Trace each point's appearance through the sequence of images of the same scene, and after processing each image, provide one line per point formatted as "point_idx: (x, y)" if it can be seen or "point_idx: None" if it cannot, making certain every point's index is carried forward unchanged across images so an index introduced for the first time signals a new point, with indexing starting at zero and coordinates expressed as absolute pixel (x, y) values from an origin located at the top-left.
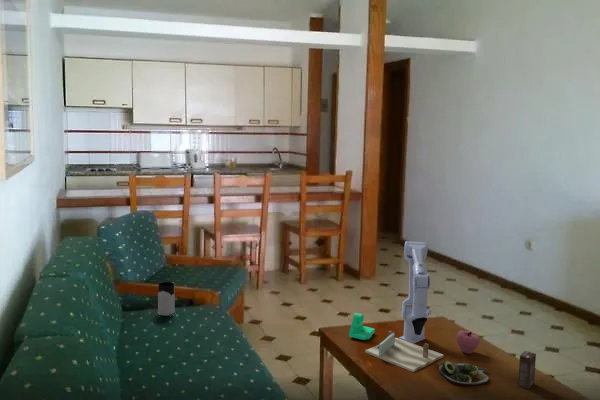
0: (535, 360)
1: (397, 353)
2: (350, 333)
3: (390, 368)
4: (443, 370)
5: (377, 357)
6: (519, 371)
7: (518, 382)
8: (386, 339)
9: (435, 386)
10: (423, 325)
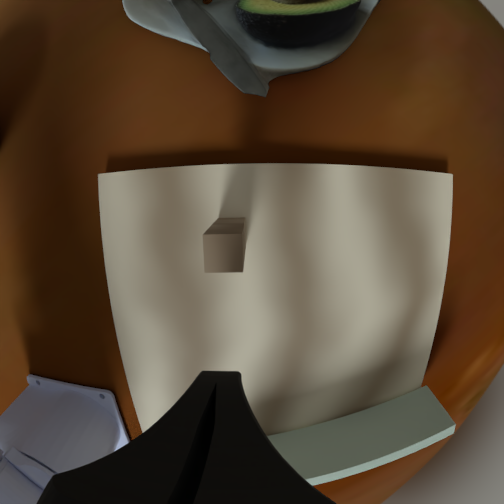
0: None
1: (328, 373)
2: None
3: (475, 283)
4: (351, 20)
5: None
6: None
7: None
8: (367, 465)
9: (461, 29)
10: (154, 441)
